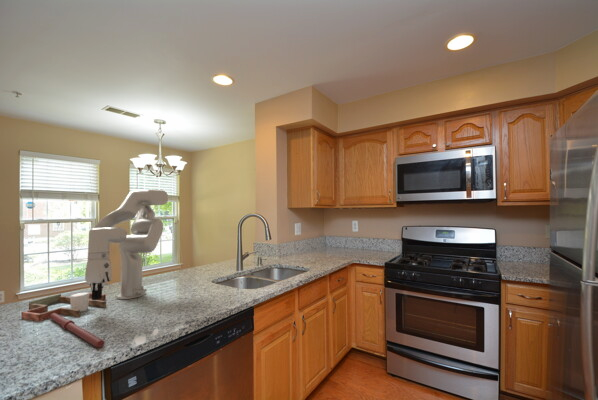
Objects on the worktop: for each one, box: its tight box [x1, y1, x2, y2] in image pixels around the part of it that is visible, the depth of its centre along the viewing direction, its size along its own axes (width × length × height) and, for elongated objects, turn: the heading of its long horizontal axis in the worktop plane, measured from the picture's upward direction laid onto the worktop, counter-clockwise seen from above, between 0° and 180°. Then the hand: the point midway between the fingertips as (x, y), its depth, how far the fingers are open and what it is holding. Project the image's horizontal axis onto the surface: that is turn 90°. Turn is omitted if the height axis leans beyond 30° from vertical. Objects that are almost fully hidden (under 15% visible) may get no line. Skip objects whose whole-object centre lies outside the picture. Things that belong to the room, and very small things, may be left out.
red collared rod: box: [49, 313, 105, 349], centre depth 96 cm, size 45×3×3 cm, turn 57°
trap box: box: [20, 292, 107, 322], centre depth 121 cm, size 32×27×4 cm
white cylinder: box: [69, 291, 91, 312], centre depth 119 cm, size 7×7×7 cm
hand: (96, 299), depth 114 cm, fingers closed
